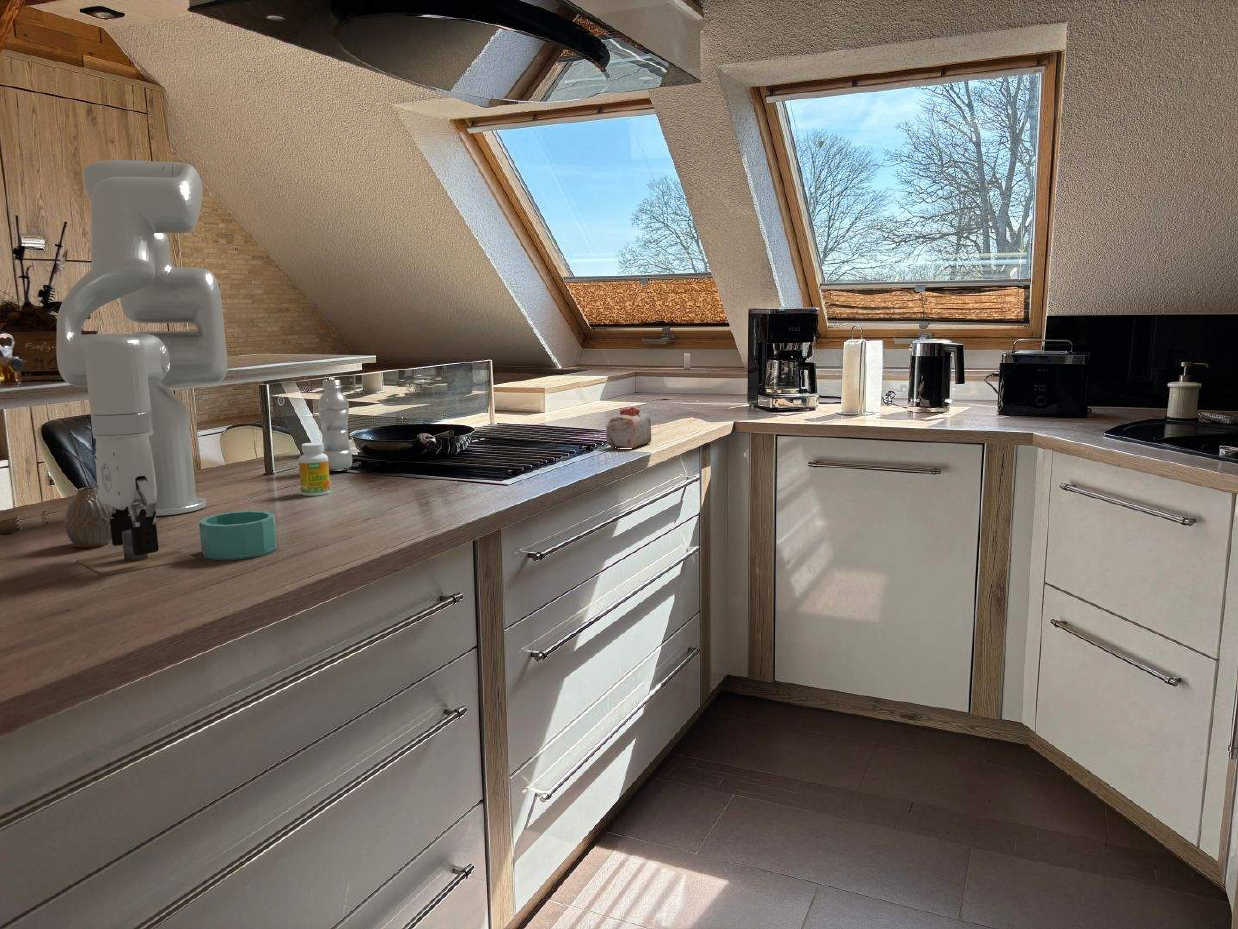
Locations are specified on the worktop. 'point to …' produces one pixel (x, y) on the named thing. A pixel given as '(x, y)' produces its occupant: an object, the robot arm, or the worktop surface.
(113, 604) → the worktop surface
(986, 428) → the worktop surface
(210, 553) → the bowl
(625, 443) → the food item
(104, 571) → the lid
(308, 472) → the supplement bottle
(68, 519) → the vase
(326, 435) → the plastic bottle
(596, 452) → the worktop surface
